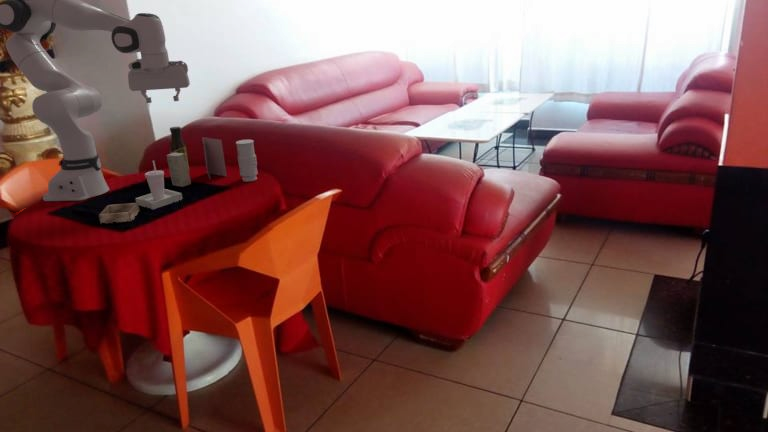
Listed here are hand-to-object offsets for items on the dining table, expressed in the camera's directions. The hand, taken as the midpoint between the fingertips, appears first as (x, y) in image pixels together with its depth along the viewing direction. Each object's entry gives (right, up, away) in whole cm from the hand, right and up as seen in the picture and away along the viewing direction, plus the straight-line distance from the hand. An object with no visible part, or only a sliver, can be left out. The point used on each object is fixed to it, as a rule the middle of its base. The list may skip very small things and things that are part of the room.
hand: (162, 101), depth 213 cm
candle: (+26, -26, +21) cm, 43 cm away
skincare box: (+1, -29, +18) cm, 34 cm away
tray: (-1, -36, -1) cm, 36 cm away
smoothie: (-1, -35, -1) cm, 35 cm away
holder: (-9, -41, -14) cm, 44 cm away
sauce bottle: (-3, -24, +30) cm, 39 cm away
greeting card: (+11, -25, +28) cm, 39 cm away
